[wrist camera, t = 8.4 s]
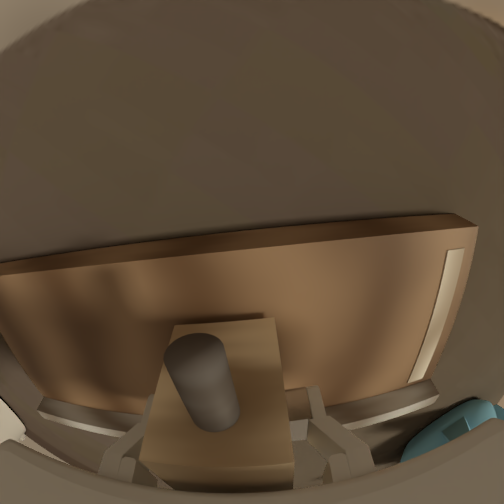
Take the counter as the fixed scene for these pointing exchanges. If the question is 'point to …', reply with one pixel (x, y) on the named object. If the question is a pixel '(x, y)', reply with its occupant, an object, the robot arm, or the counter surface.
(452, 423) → the teapot
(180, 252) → the walnut board
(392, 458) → the counter surface
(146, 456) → the wooden block with pegs
